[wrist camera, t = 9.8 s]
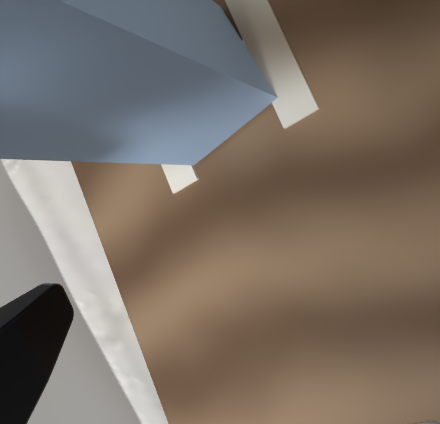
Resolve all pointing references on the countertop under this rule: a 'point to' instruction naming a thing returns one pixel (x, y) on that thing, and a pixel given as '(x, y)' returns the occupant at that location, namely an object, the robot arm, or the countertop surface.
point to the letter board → (295, 229)
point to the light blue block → (123, 80)
